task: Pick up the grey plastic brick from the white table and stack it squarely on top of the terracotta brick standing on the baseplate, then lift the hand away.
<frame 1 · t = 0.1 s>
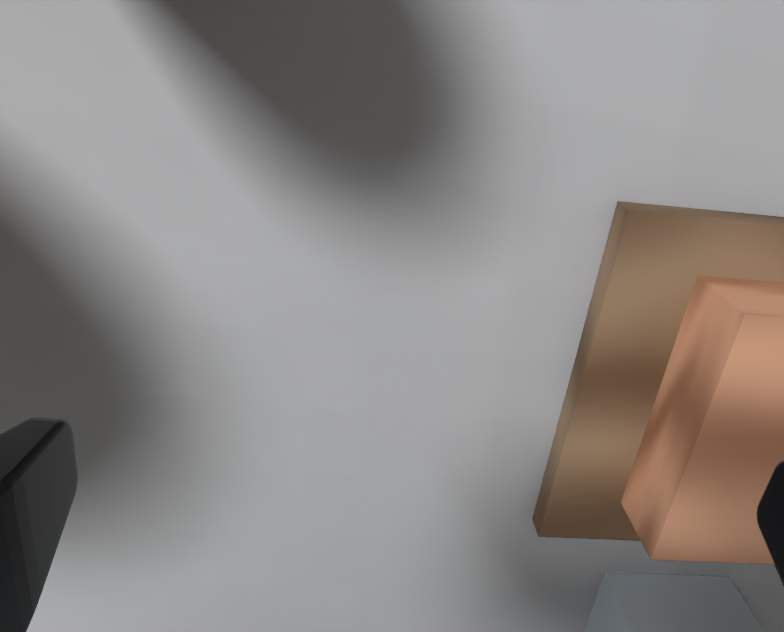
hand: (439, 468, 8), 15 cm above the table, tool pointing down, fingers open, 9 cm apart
tower base: (742, 390, 26), on the table
grey brick: (642, 631, 33), on the table
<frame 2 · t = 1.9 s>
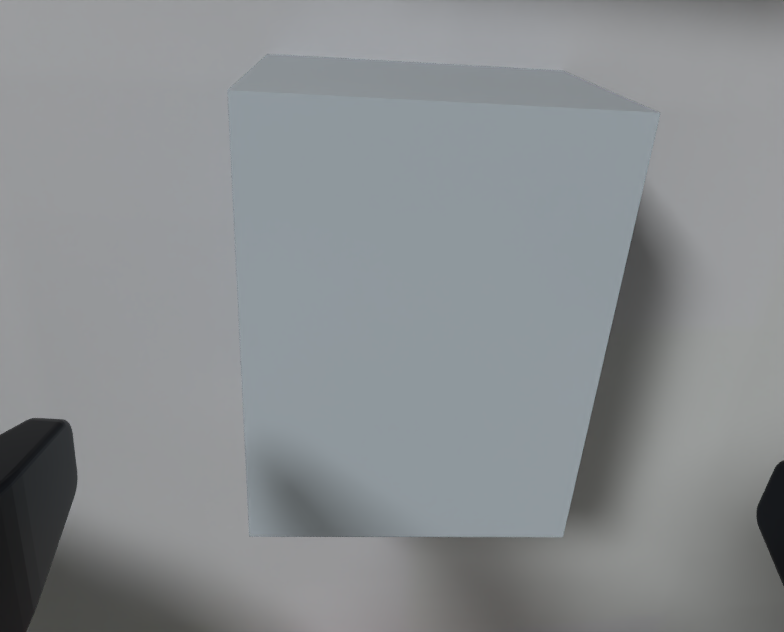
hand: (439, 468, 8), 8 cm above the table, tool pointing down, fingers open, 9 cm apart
grey brick: (404, 246, 15), on the table
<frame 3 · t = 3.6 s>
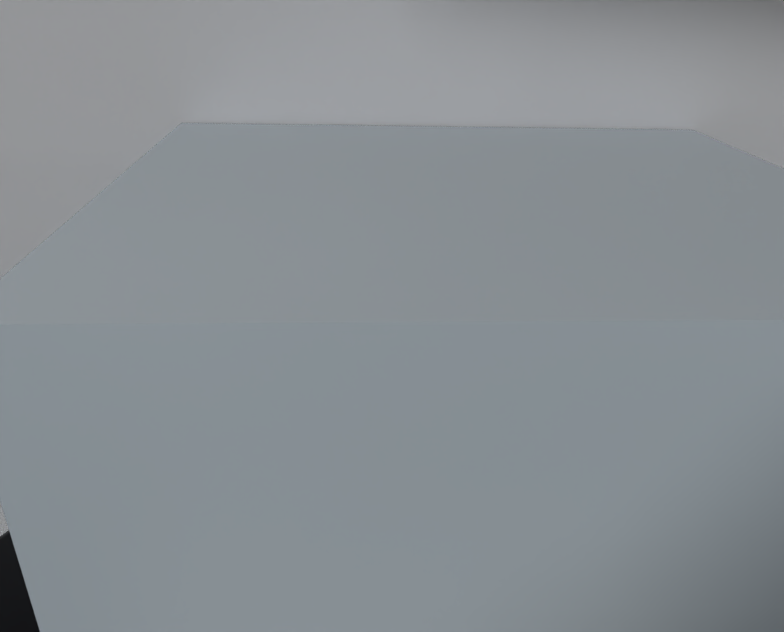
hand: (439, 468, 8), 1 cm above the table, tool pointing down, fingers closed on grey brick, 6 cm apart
grey brick: (427, 412, 10), on the table, touching gripper
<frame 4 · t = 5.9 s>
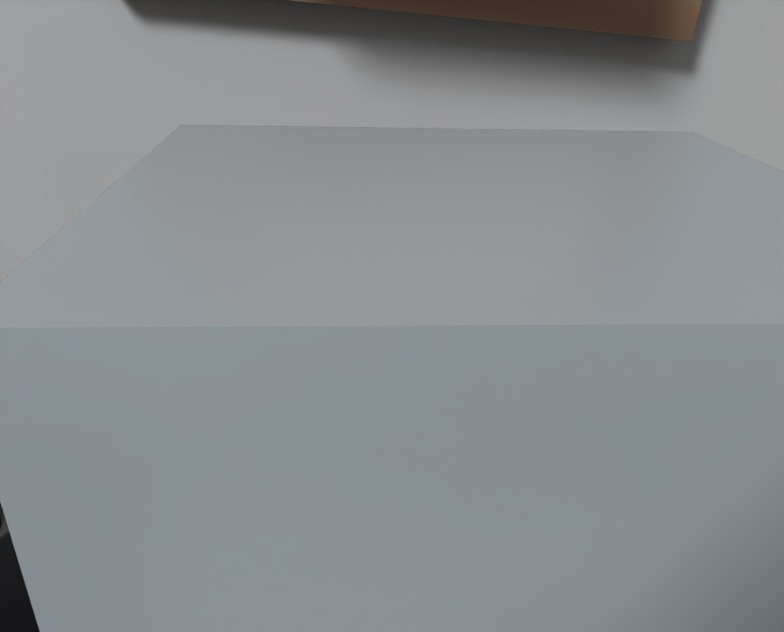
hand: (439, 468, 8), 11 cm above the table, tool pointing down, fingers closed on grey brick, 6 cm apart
grey brick: (427, 413, 10), point 10 cm above the table, touching gripper
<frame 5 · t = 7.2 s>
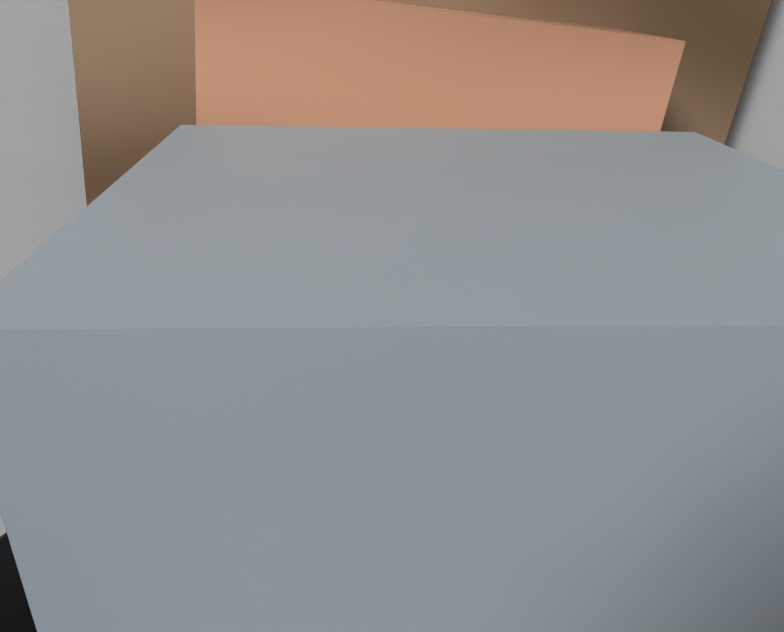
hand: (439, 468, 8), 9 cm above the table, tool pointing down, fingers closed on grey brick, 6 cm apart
tower base: (396, 226, 17), on the table
grey brick: (427, 414, 10), point 8 cm above the table, touching gripper
when the fingers open (6 cm above the table, at t = 8.5 s): grey brick drops 1 cm, resting on tower base.
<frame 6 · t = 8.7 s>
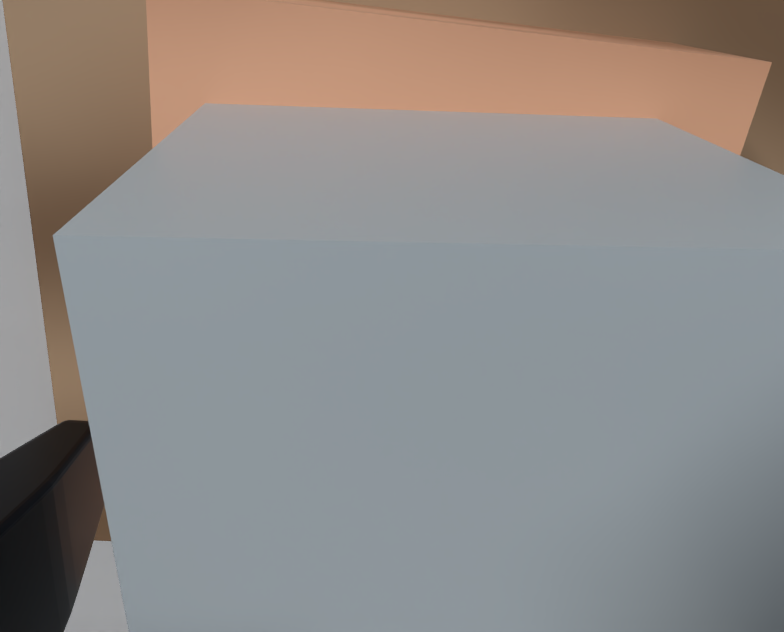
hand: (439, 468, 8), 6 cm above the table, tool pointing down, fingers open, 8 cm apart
tower base: (402, 270, 14), on the table
grey brick: (418, 371, 11), point 4 cm above the table, touching tower base
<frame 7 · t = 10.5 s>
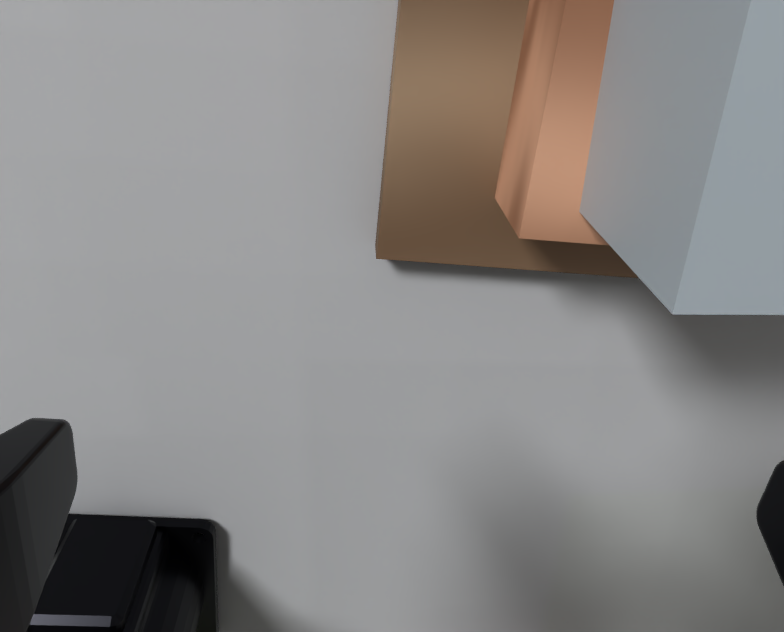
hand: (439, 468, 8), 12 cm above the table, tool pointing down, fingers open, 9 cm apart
tower base: (676, 7, 17), on the table
grey brick: (758, 21, 13), point 4 cm above the table, touching tower base
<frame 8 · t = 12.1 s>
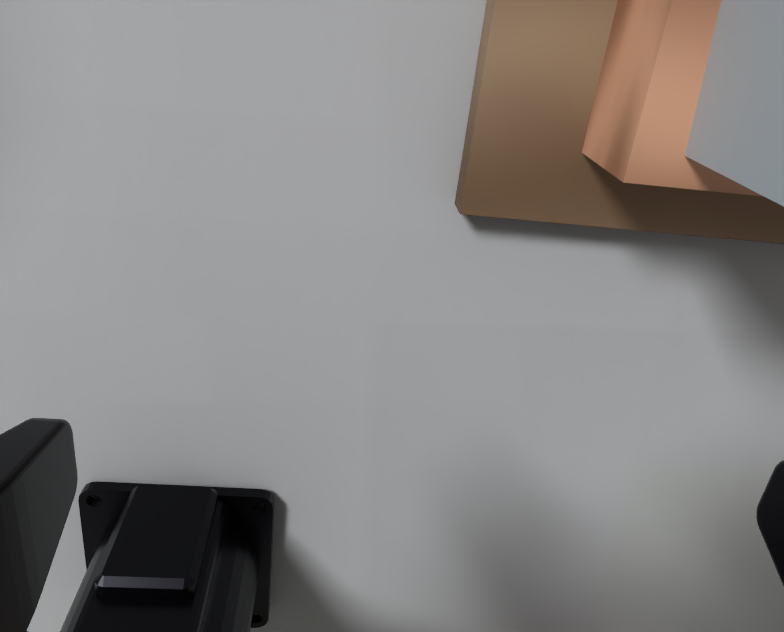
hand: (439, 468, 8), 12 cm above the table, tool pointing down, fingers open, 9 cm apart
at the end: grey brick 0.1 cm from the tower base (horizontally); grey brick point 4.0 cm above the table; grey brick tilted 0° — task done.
